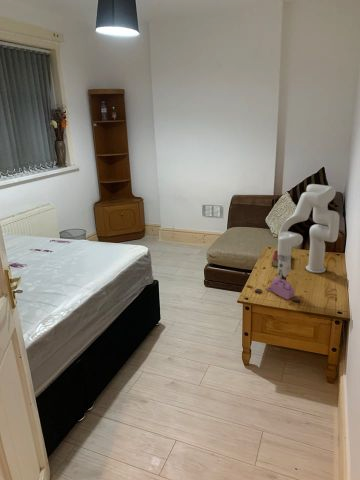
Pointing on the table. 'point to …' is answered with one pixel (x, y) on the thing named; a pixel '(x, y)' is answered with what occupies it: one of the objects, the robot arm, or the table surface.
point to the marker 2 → (296, 300)
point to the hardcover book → (275, 259)
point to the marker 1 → (258, 290)
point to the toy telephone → (282, 288)
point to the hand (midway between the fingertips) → (283, 284)
